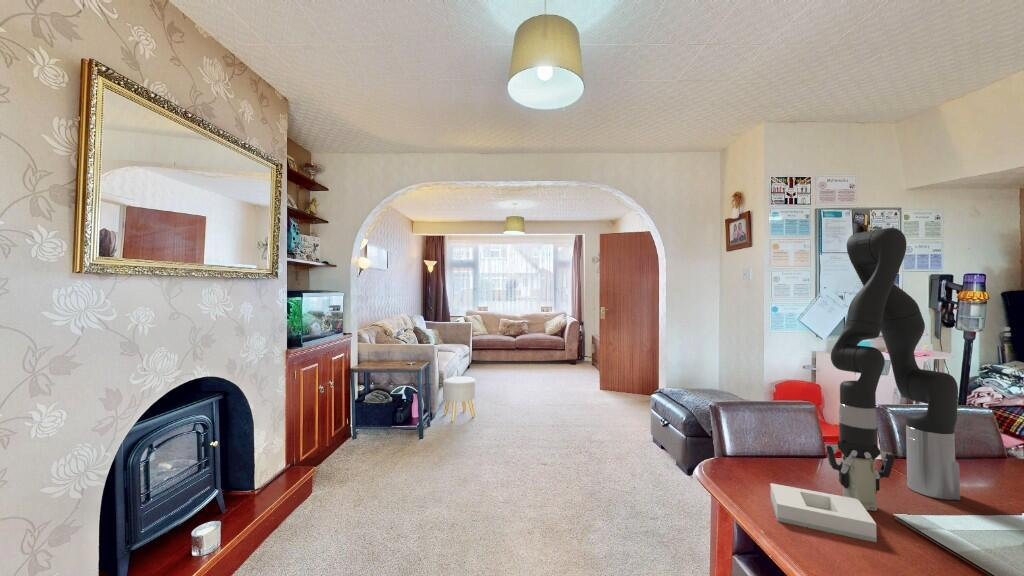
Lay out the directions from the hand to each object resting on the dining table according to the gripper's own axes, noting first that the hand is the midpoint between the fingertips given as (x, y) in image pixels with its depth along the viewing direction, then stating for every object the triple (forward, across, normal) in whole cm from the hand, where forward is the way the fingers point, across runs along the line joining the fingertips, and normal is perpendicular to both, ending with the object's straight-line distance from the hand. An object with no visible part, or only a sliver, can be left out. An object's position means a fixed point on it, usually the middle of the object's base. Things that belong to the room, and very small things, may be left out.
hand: (858, 488), depth 102 cm
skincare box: (+4, 0, 0) cm, 4 cm away
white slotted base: (+4, +11, +13) cm, 17 cm away
